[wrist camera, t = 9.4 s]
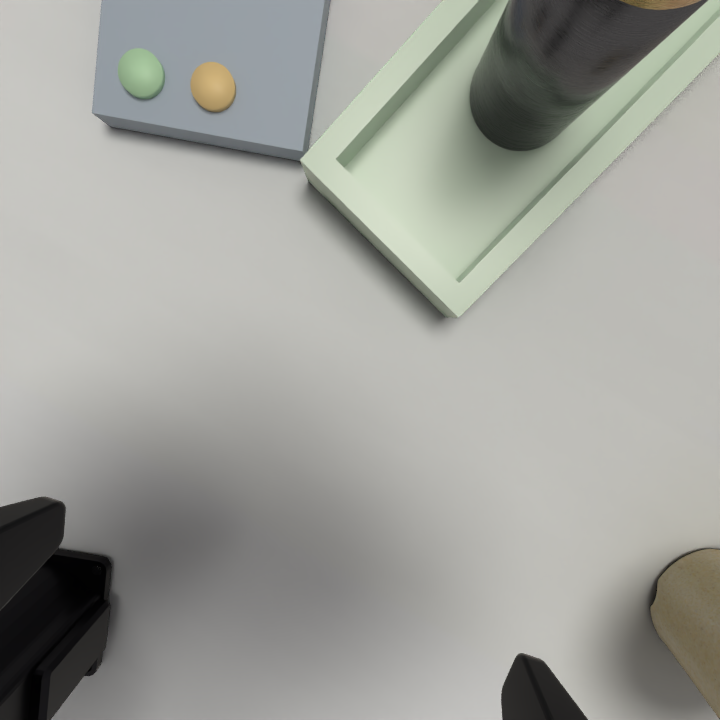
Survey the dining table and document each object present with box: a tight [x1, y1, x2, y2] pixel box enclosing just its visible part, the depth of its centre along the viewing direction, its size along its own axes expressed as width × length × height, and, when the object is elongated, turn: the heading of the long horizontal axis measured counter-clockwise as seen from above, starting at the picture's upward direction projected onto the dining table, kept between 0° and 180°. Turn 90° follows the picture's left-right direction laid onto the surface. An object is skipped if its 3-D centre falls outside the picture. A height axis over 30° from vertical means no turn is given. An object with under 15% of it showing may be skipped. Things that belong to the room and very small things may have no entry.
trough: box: [300, 0, 720, 318], centre depth 16 cm, size 22×9×2 cm, turn 136°
